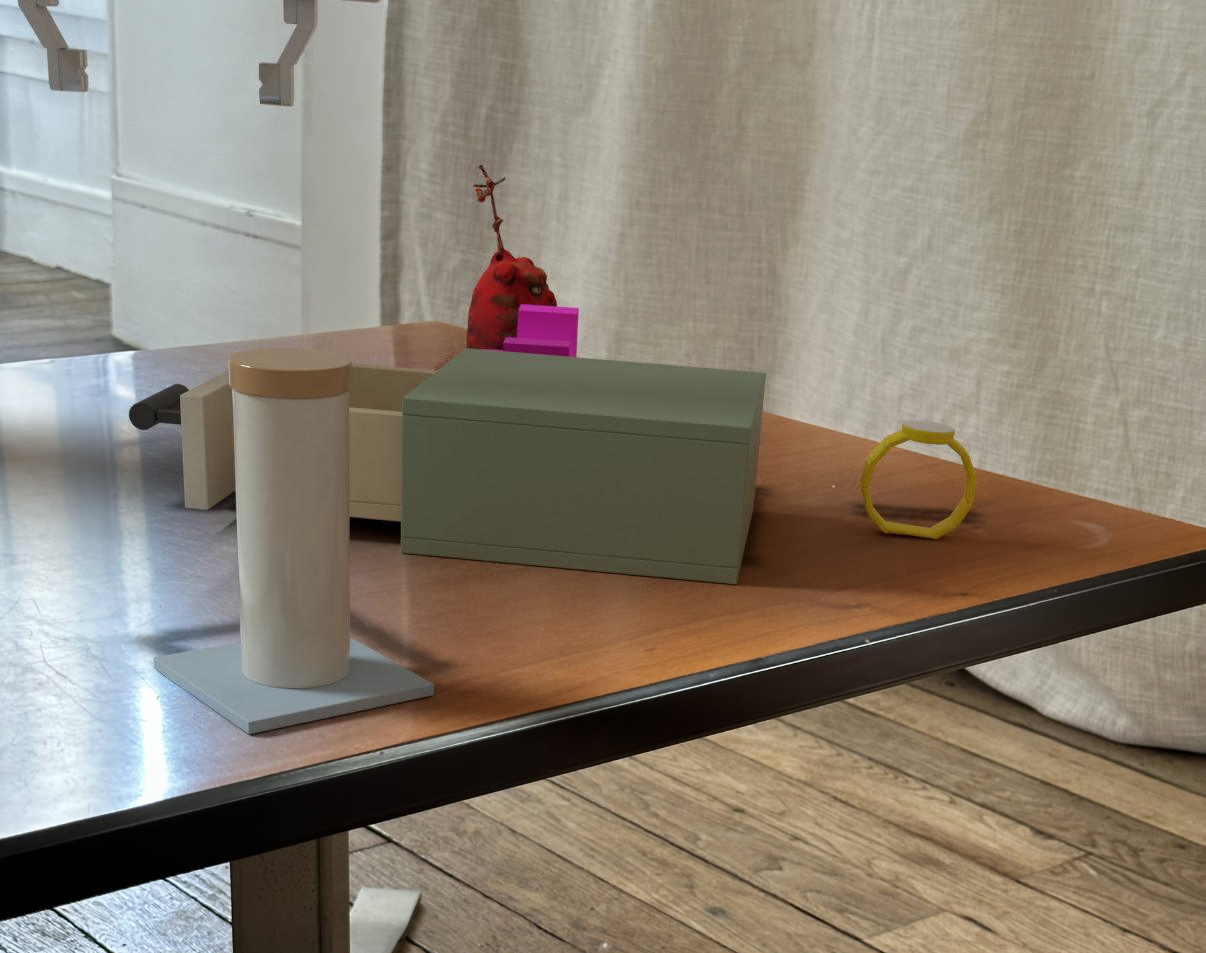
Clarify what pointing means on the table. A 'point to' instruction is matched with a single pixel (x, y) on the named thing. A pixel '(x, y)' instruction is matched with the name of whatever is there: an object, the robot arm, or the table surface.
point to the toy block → (545, 331)
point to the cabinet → (582, 464)
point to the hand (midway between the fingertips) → (173, 98)
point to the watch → (928, 435)
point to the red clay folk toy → (503, 289)
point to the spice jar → (292, 514)
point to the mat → (268, 708)
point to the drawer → (213, 437)
